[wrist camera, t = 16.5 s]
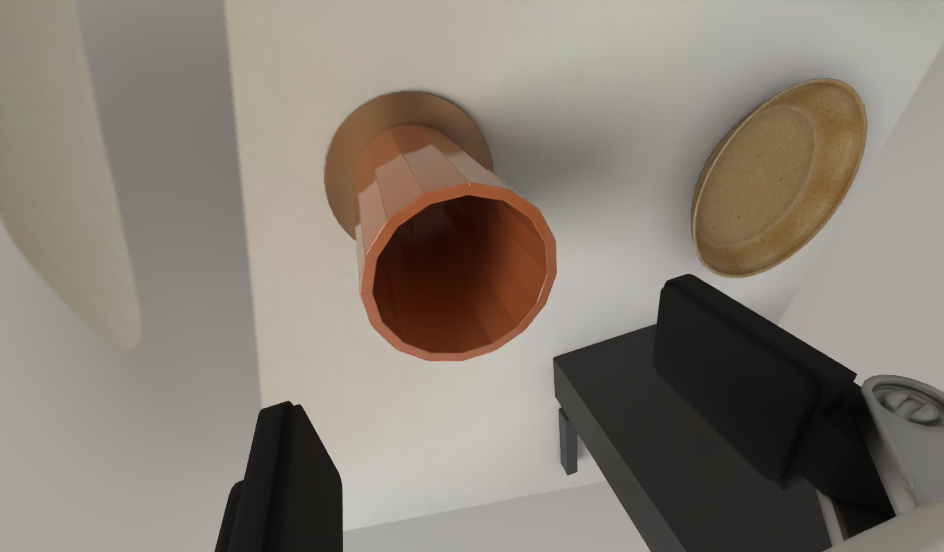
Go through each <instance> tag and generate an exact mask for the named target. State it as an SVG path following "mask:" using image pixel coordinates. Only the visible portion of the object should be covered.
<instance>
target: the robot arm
mask: <svg viewBox="0 0 944 552" xmlns="http://www.w3.org/2000/svg"><path fill="white" fill-rule="evenodd" d="M653 367H654V369H655V371H656V372H657V374H658V375H659V376H660V377H661V378H662V379H663V380H664V381H665V382H666V383H667V384H668V385H669V386H670V387H671V388H672V389H673V390H674V391H675V392H676V393H678V394H679V395H680V396H681V397H682V398H683V399H684V400H685V401H686V402H687V403H688V404H689V405H690V406H691V407H692V408H693V409H694V410H695V411H696V412H697V413H698V414H699V415H700V416H701V417H702V418H703V419H704V420H705V421H706V422H707V423H708V424H709V425H710V426H711V427H712V428H713V429H714V430H715V431H716V432H717V433H718V434H719V435H720V436H721V437H722V438H723V439H724V440H725V441H726V442H727V443H728V444H729V445H730V446H731V447H733V448H734V449H735V450H736V451H737V452H738V453H739V454H740V455H741V456H742V457H743V458H744V459H745V460H746V461H747V462H748V463H749V464H750V465H751V466H752V467H753V468H754V469H755V470H756V471H757V472H758V473H759V474H760V475H761V476H763V477H764V478H766V479H767V480H772V481H773V482H774V483H776V484H777V485H778V486H779V487H780V488H781V489H782V490H783V491H784V492H785V491H787V490H789V489H792V488H794V487H796V486H798V485H800V484H803V483H804V481H805V479H806V480H807V481H809V482H810V483H811V484H812V485H813V486H814V487H815V488H816V492H817V495H818V499H819V502H820V506H821V509H822V513H823V516H824V520H825V523H826V527H827V530H828V534H829V537H830V541H831V544H832V547H831V548H829V549H827V550H825V551H823V552H944V392H942V391H940V390H938V389H936V388H934V387H932V386H930V385H928V384H925V383H923V382H920V381H917V380H914V379H910V378H906V377H901V376H896V375H878V376H872V377H870V378H868V379H867V380H865V381H864V383H863V385H862V387H861V386H859V385H857V384H856V383H854V380H855V378H856V375H857V374H856V373H855V372H853V371H851V370H850V369H848V368H847V367H845V366H843V365H842V364H840V363H838V362H836V361H835V360H833V359H832V358H830V357H828V356H827V355H825V354H823V353H822V352H820V351H818V350H817V349H815V348H813V347H811V346H810V345H808V344H807V343H805V342H803V341H802V340H800V339H798V338H797V337H795V336H793V335H792V334H790V333H789V332H787V331H785V330H784V329H782V328H780V327H779V326H777V325H775V324H774V323H772V322H770V321H769V320H767V319H765V318H764V317H762V316H760V315H759V314H757V313H755V312H754V311H752V310H750V309H749V308H747V307H745V306H744V305H742V304H740V303H739V302H737V301H736V300H734V299H732V298H731V297H729V296H727V295H726V294H724V293H722V292H721V291H719V290H717V289H716V288H714V287H712V286H711V285H709V284H707V283H706V282H704V281H702V280H701V279H699V278H697V277H696V276H694V275H692V274H686V275H682V276H679V277H676V278H673V279H670V280H668V281H666V283H665V285H664V287H663V288H662V289H661V293H660V301H659V310H658V318H657V327H656V335H655V344H654V352H653ZM215 552H343V505H342V482H341V478H340V475H339V473H338V471H337V469H336V467H335V465H334V463H333V462H332V460H331V458H330V456H329V454H328V452H327V451H326V449H325V447H324V445H323V443H322V442H321V440H320V438H319V436H318V434H317V432H316V431H315V429H314V427H313V425H312V423H311V422H310V420H309V418H308V416H307V414H306V412H305V411H304V409H303V407H302V406H301V405H300V404H298V405H295V406H293V404H292V403H291V402H290V401H286V402H283V403H280V404H277V405H273V406H270V407H267V408H264V409H262V410H261V411H260V412H259V415H258V419H257V424H256V429H255V433H254V437H253V442H252V446H251V451H250V455H249V459H248V463H247V468H246V472H245V477H244V480H242V481H239V482H237V483H236V484H235V485H234V486H233V487H232V489H231V492H230V494H229V497H228V501H227V505H226V509H225V513H224V517H223V521H222V525H221V529H220V533H219V537H218V540H217V544H216V548H215Z"/></svg>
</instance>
